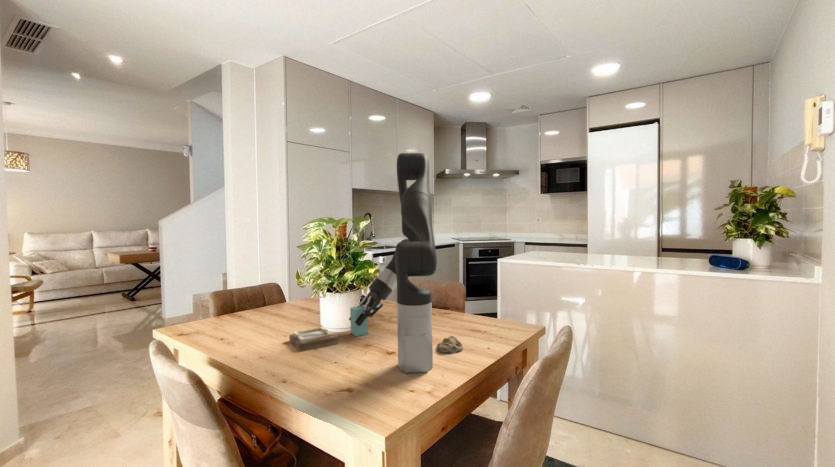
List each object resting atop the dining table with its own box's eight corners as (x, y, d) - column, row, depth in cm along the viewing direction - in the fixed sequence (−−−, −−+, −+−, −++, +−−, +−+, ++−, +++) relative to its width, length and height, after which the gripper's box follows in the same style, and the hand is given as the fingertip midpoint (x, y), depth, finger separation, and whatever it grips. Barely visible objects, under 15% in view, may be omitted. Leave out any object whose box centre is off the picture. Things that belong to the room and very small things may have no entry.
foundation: (337, 343, 120) (337, 334, 120) (299, 351, 114) (299, 341, 114) (325, 334, 130) (324, 325, 130) (289, 341, 124) (289, 331, 124)
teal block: (368, 333, 130) (367, 308, 130) (356, 336, 128) (355, 309, 127) (362, 330, 134) (362, 305, 134) (350, 333, 131) (350, 307, 131)
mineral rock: (461, 348, 108) (435, 338, 111) (457, 362, 109) (431, 352, 111) (468, 338, 118) (444, 329, 121) (464, 351, 119) (441, 342, 121)
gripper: (369, 275, 140) (338, 312, 134) (387, 279, 128) (355, 320, 122) (382, 287, 143) (353, 324, 137) (401, 293, 131) (370, 334, 125)
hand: (354, 322), depth 130 cm, fingers closed on teal block, 4 cm apart
